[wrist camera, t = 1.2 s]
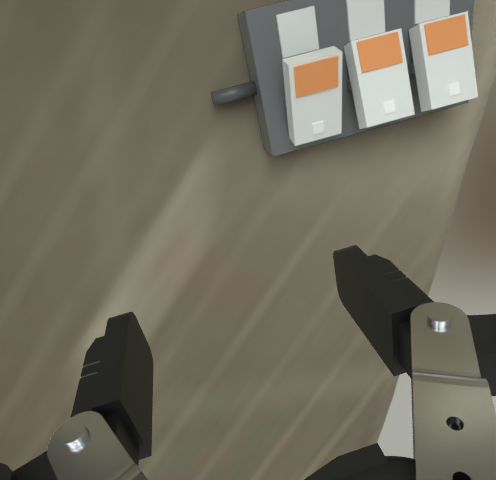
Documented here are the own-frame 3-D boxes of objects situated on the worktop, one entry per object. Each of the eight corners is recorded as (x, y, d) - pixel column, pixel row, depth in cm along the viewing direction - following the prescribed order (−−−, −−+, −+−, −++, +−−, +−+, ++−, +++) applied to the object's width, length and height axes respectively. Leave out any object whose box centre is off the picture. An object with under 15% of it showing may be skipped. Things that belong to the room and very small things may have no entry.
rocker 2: (408, 30, 33) (420, 22, 32) (455, 18, 34) (468, 10, 32) (421, 112, 35) (432, 109, 33) (465, 99, 35) (479, 96, 34)
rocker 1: (281, 59, 31) (289, 66, 29) (333, 45, 31) (343, 52, 30) (289, 138, 35) (295, 146, 34) (334, 125, 36) (342, 133, 35)
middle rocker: (343, 46, 33) (351, 40, 31) (391, 34, 33) (402, 27, 32) (359, 129, 35) (367, 127, 33) (404, 116, 35) (415, 114, 33)
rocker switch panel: (192, 25, 33) (196, 22, 29) (448, -38, 35) (483, -49, 31) (226, 158, 39) (233, 170, 35) (444, 98, 41) (473, 103, 37)
